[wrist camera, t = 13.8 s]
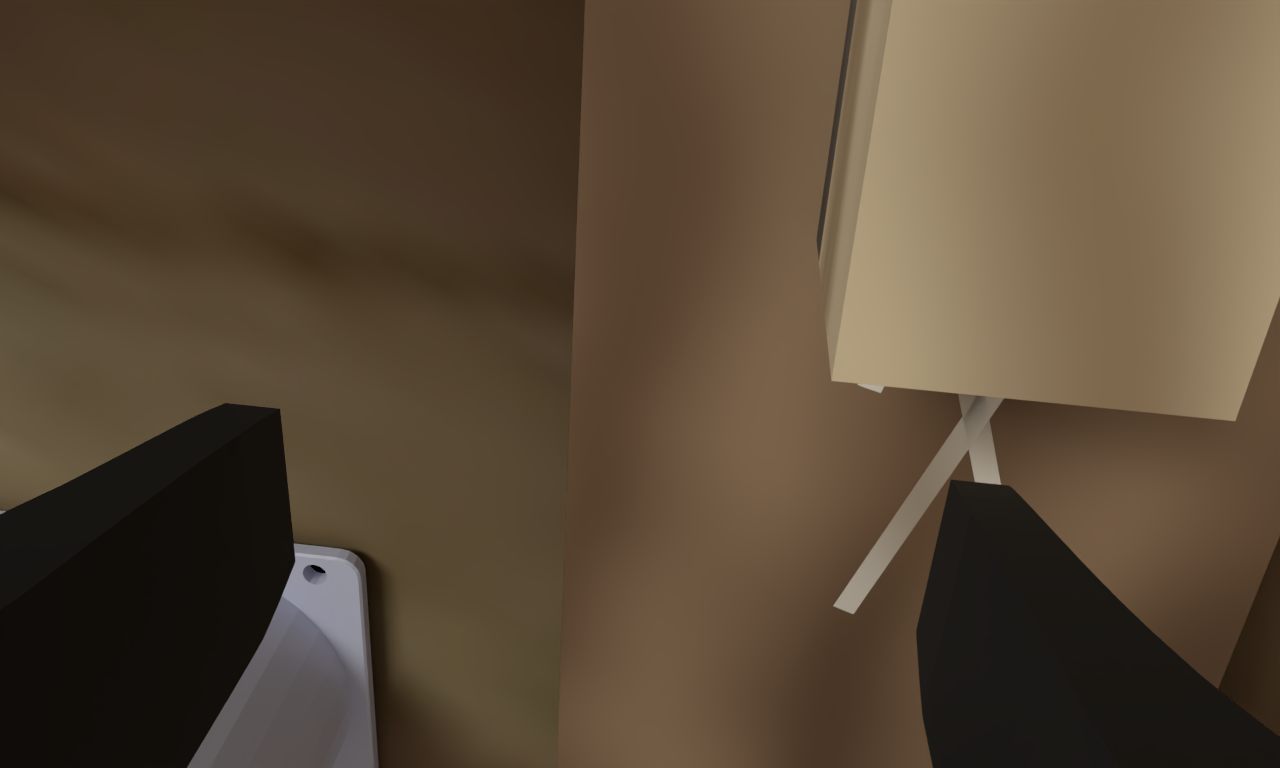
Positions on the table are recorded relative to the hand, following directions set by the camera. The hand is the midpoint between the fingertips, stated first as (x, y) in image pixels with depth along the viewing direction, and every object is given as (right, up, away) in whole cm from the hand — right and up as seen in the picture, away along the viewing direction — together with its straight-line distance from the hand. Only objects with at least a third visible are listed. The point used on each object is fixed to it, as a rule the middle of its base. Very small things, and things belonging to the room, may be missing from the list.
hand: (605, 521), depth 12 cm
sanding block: (+6, +8, +4) cm, 11 cm away
